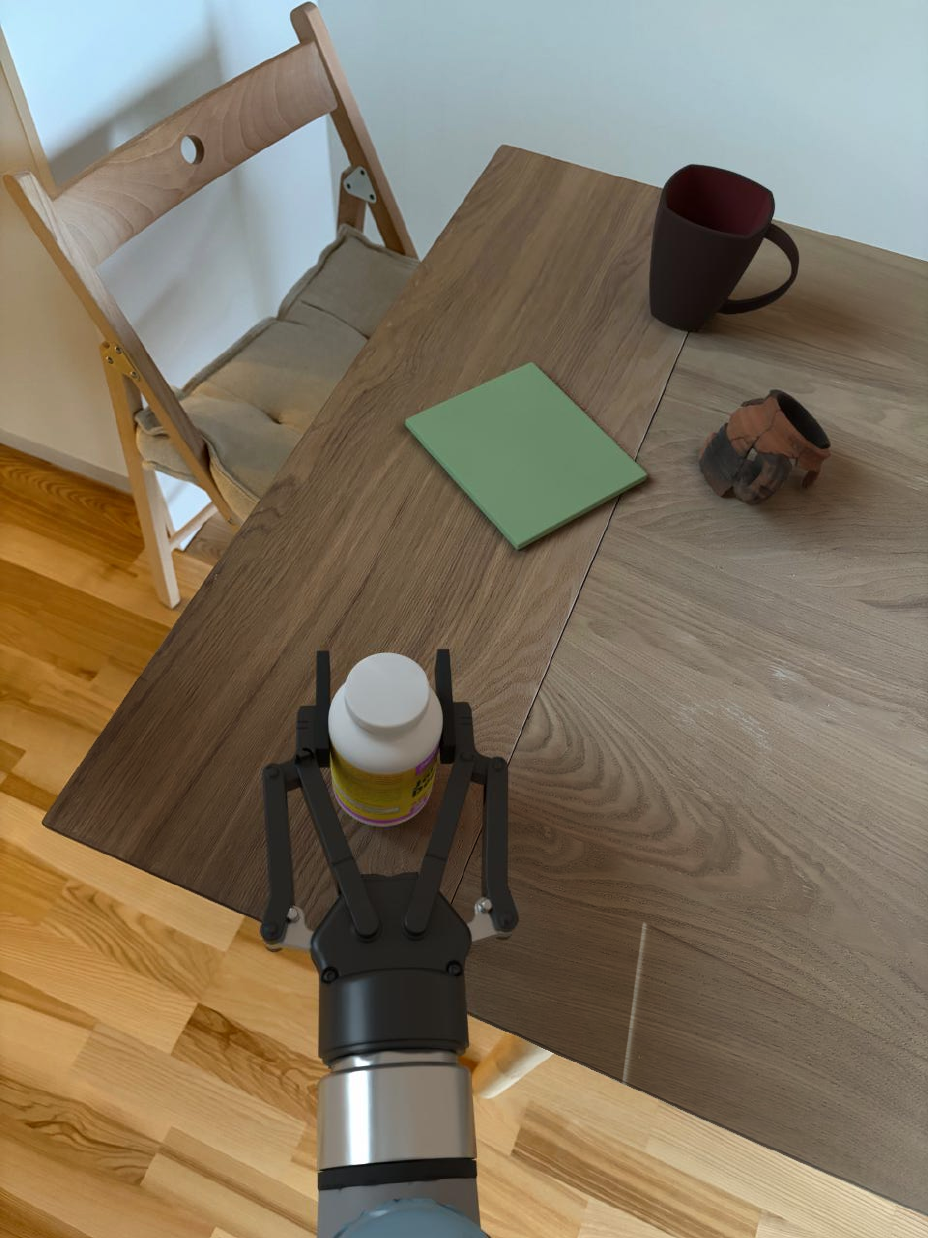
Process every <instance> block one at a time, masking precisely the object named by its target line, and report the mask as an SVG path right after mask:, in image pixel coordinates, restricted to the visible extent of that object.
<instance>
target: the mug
mask: <svg viewBox="0 0 928 1238" xmlns="http://www.w3.org/2000/svg"><path fill="white" fill-rule="evenodd" d="M775 212H776V201H775V196H774V193H773V192H772V190H770V189H769V188H767V187H765V185H763V184H761V183H759V182H757V181H756V180H753V179H751V178H749V177H748V176H745V175H743V174H739V173H737V172H734V171H732V170H728V169H725V168H720V167H717V166H711V165H705V164H695V163H690V164H686V165H685V166H683V167H681V168H680V169H678V170H677V171H675V172H674V173H673V174H672V175H671V176H670V177H669V178H668V179H667V180H666V182H665V184H664V186H663V188H662V191H661V193H660V198H659V201H658V206H657V211H656V213H655V219H654V225H653V231H652V239H651V247H650V248H651V250H650V258H649V259H650V261H649V273H648V274H649V275H648V277H649V278H648V279H649V280H648V293H649V294H648V296H649V297H648V298H649V311H650V315H651V316H652V317H653V318H655V319H656V320H658V321H659V322H661V323H663V324H665V325H667V326H669V327H672V328H675V329H678V330H682V331H688V332H694V333H697V332H699V331H701V330H702V329H703V328H705V327H706V326H707V325H708V324H709V323H710V322H711V320H712V319H713V318H714V317H715V316H716V314H717V313H718V314H721V315H729V316H730V315H739V314H740V315H741V314H746V313H749V312H753V311H757V310H760V309H763V308H764V307H767V306H769V305H771V304H773V303H775V302H777V301H778V300H779V299H780V298H781V297H783V295H785V294H786V293H787V291H788V290H789V289H790V288H791V287H792V285H793V284H794V282H795V281H796V280H797V279H796V278H797V276H798V274H799V273H798V272H799V266H800V253H799V252H800V251H799V249H798V247H797V245H796V242H795V241H794V240H793V238H792V237H791V236H790V234H789V233H788V232H786V230H784V229H783V228H781V227H780V226H778V225H777V224H775V223H772V221H773V218H774V215H775ZM764 239H767V240H768V241H769V242H771V243H772V244H774V245H776V246H777V247H778V248H779V249H780V250H781V251H782V252H783V254H784V255H785V256H786V258H787V259H788V261H789V263H790V274H789V275H790V276H789V277H788V278H787V280H786V281H785V282H783V284H781V285H780V286H779V287H778V288H776V289H774V290H771V291H769V292H766V293H764V294H761V295H758V296H757V295H756V296H753V297H748V298H743V299H730V296H731V294H732V293H733V291H734V290H735V289H736V287H737V285H738V284H739V282H740V281H741V280H742V278H743V276H744V274H745V273H746V271H747V270H748V268H749V267H750V265H751V263H752V261H753V260H754V258H755V256H756V254H757V253H758V251H759V249H760V247H761V245H762V243H763V242H764Z"/></svg>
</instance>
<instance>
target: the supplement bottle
mask: <svg viewBox="0 0 928 1238" xmlns="http://www.w3.org/2000/svg"><path fill="white" fill-rule="evenodd" d="M349 671H350V672H349V673H348V674H347V678H346V681H345V682H344V683H343V684H342V685H341V686H340V687H339V689H337V691H336V692H335V695H334V697H333V698H332V701H331V702H330V710H329V717H328V724H329V739H330V773H331V774H330V775H331V783H332V790H333V793H334V796H335V799H336V801H337V803H338V804H339V806H340V807H341V809H343V811H344V812H345V813H347V814H348V816H350V817H351V818H353V819H354V820H356V821H357V822H359V823H362V824H364V825H368V826H373V827H391V826H396V825H400V824H403V823H405V822H407V821H409V820H411V819H412V818H414V817H415V816H417V814H419V812H420V811H422V809H423V808H424V807H425V805H426V804H427V803H428V800H429V798H430V796H431V794H432V791H433V786H434V782H435V776H436V770H437V764H438V756H439V744H440V739H441V733H442V725H443V715H442V709H441V705H440V703H439V700H438V698H437V696H436V692H435V691H434V689H432V687H431V686H430V685H431V684H430V681H429V678H428V676H427V674H426V672H425V671H424V669H423V668H422V667H421V666H420V665H419V663H417V662H416V661H415V660H414V659H411V657H408V656H406V655H404V654H400V653H395V652H379V653H374V654H371V655H369V656H367V657H365V658H363V659H361V660H360V661H359V662H357V663H356V664H355V665H354V666H353V667H352V669H351V670H349Z"/></svg>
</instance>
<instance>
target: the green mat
mask: <svg viewBox="0 0 928 1238" xmlns="http://www.w3.org/2000/svg"><path fill="white" fill-rule="evenodd" d="M404 424H405V427H406V429H408V431H410V432H411V434H412V435H413V436H414V437H415V438H416V440H418V442H420V444H421V445H422V446H423V447H424V448H425V449H426V451H427V452H429V454H430V455H431V456H432V457H433V458H434V459H435V460H436V461H437V463H438V464H439V465H440V466H441V467H442V468H443V470H445V471H446V472H447V474H448V475H449V476H450V477H451V479H453V480H454V482H455V483H456V484H457V485H458V486H459V487H460V488H461V489H462V490H463V491H464V493H465V494H466V495H467V496H468V497H469V498H470V499H471V500H472V501H473V503H474V504H475V505H476V506H477V507H478V509H480V510H481V512H483V514H484V515H485V516H486V517H487V518H488V519H489V520H490V522H491V523H492V524H493V525H494V526H495V527H496V528H497V529H498V531H499V532H500V533H501V534H502V535H503V536H504V537H505V538H506V539H507V541H508V542H509V543H510V544H511V545H512V546H513V547H514V548H515V550H517V551H519V550H521V549H523V548H524V547H527V546H529V544H533V543H534V542H535V541H537V540H539V539H541V538H543V537H544V536H546V535H548V534H550V533H552V532H554V531H555V530H557V529H560V528H561V527H563V526H565V525H567V524H568V523H570V522H572V521H574V520H575V519H577V518H579V517H581V516H583V515H585V514H587V513H588V512H590V511H592V510H594V509H596V508H597V507H600V506H601V505H603V504H605V503H607V502H609V501H610V500H612V499H614V498H616V497H617V496H619V495H621V494H623V493H625V492H627V491H628V490H630V489H632V488H634V487H636V486H637V485H639V484H641V483H643V482H645V481H646V480H647V477H648V473H647V472H646V471H645V470H644V469H643V468H642V467H641V466H640V465H639V464H638V463H637V462H636V461H635V460H634V459H633V458H632V457H631V456H629V455H628V453H627V452H625V451H624V450H623V448H621V447H620V446H619V444H617V443H616V442H615V441H614V440H613V439H612V438H611V437H610V436H609V435H608V433H606V431H604V430H603V429H602V428H601V427H600V426H599V425H598V424H597V423H596V422H595V421H594V420H593V419H592V418H591V417H589V416H588V415H587V413H586V412H585V411H583V410H582V408H580V407H579V406H578V405H577V403H575V402H574V401H573V400H572V399H571V398H570V397H569V396H568V395H567V394H566V393H565V392H564V391H563V390H562V389H561V388H560V387H559V386H558V385H557V384H556V383H554V381H553V380H552V379H551V378H550V377H549V376H548V375H546V373H544V372H543V371H542V370H541V369H540V368H539V367H538V366H537V365H536V364H535V363H534V362H533V361H530V362H528V363H526V364H524V365H521V366H518V367H517V368H515V369H513V370H511V371H508V372H506V373H503V374H502V375H500V376H498V377H495V378H492V379H490V380H489V381H486V382H484V383H482V384H480V385H478V386H476V387H473V388H471V389H469V390H467V391H464V392H462V393H460V394H458V395H456V396H453V397H451V398H449V399H447V400H445V401H443V402H440V403H438V404H436V405H434V406H432V407H429V408H427V409H425V410H422V411H421V412H419V413H416V414H413V415H411V416H409V417H407V418H406V419H405V423H404Z"/></svg>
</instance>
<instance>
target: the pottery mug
mask: <svg viewBox="0 0 928 1238" xmlns="http://www.w3.org/2000/svg"><path fill="white" fill-rule="evenodd" d="M831 446H832V443H831V441H830V439H829V437H828V435H827V434H826V432H825V430H824V429H823V427H822V426H821V425H820V424H819V422H818V421H817V420H816V418H815V417H814V416H813V414H811V413H810V412H809V411H808V409H807V408H806V407H805V406H804V405H802V404H801V402H799V401H798V400H797V399H796V398H795V397H793V396H792V395H790V394H789V393H787V392H786V391H783V390H781V389H777V388H775V389H770V390H769V393H768V394H767V396H765V397H758V398H753V399H749V400H746V401H743V402H742V403H740V407H738V408H737V409H736V410H735V411H734V412H732V413H731V414H730V416H729V419H728V422H725V423H724V424H723V425H722V426H721V427H720V428H719V430H718V432H715V431H713V432H711V433H710V434H709V435H708V437H707V438H706V439H705V441H704V444H703V446H702V447H701V448H700V449H699V451H698V453H697V461H698V466H699V468H700V472H701V474H702V476H703V478H704V480H705V481H706V483H707V484H708V486H709V487H710V488H711V489H712V490H713V491H714V493H715V494H716V495H717V496H719V497H723V496H725V494H726V493H727V491H730V489H732V487H733V492H734V495H735V497H736V498H737V499H738V501H739V502H742V503H745V504H747V505H749V506H753V505H755V506H756V505H757V506H758V505H761V504H763V503H766V502H767V501H769V500H771V498H772V497H774V496H775V495H776V494H777V493H778V492H779V491H780V489H781V488H782V486H783V485H784V484H785V483H786V482H787V481H788V479H789V476H790V475H791V473H792V471H793V464H792V461H791V460H790V459H794V460H795V461H794V467H795V468H797V469H802V470H805V471H807V472H806V474H805V475H804V477H803V478H802V480H801V481H800V484H801V486H802V488H803V489H804V491H807V490H809V488H810V487H812V486H813V485H814V482H815V481H816V480H817V479H818V476H819V475H820V472H821V470H822V463H823V462H824V461H825V460H827V459H829V458H830V457H831V455H832V453H831V452H830V450H829V449H830V447H831ZM752 450H754V452H755V453H756V455H755V456H754V459H748V456H749V454H751V451H752Z"/></svg>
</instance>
